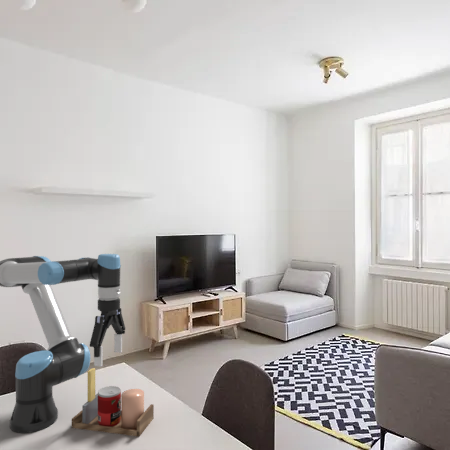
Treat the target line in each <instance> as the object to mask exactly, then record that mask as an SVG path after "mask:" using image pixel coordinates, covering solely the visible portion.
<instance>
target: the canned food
mask: <svg viewBox="0 0 450 450" xmlns="http://www.w3.org/2000/svg"><path fill="white" fill-rule="evenodd" d="M97 394H98V423H99V425H100V426H108V427H112V426H115V425H117V424H118V423H119V422H120V420H121V394H122V389H121V387H119V386H115V385H109V386H104V387H102V388H99V389H98V391H97Z"/></svg>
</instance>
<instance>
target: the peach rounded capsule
mask: <svg viewBox="0 0 450 450" xmlns="http://www.w3.org/2000/svg"><path fill="white" fill-rule="evenodd" d="M144 412H145V391H144V390H142V389H140V388H130V389H127V390H125V391H123V392H121V427H122V428H124V429H132V430H137V420H138V419H139V418H140V417H141V415H142V414H143V413H144Z"/></svg>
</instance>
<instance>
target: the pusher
mask: <svg viewBox="0 0 450 450" xmlns="http://www.w3.org/2000/svg"><path fill="white" fill-rule="evenodd" d="M81 411H82V423H84V424H89V423H90V422H91V421H92V420H93V419H94V418H95V417H96V416H97V415H98V393H96V368H95V367H94V368H93V367H92V368H90V369H88V370H87V401H86V402H85V403H84V404H83V405H82V410H81Z"/></svg>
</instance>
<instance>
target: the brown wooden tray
mask: <svg viewBox="0 0 450 450" xmlns="http://www.w3.org/2000/svg"><path fill="white" fill-rule="evenodd" d="M154 406H155V405H154V404H149V406H148V407H147V408H146V410H144V413H143V414H142V415H141V417H140V418H139V419H138V420H137V430H132V429H124V428H122V427H121V420H120V422H119V423H118V424H117V425H115V426H112V427H108V426H100V425H99V423H98V415H97V416H96V417H95V418H94V419H93V420H92V421H91V422H90V423H89V424H84V423H82V410H81V411H79V412H78V413H76V415H74V416H73V417H72V418H71V429H79V430H87V431H93V432H100V433H101V432H102V433H109V434H116V435H123V436H124V435H125V436H131V437H137V438H138V437H141V436H142V435H143V433H144V432H145V430H146V429H147V428H148V427H149V425H150V424H151V422H153V420H154V417H155V416H154V408H155V407H154Z"/></svg>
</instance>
